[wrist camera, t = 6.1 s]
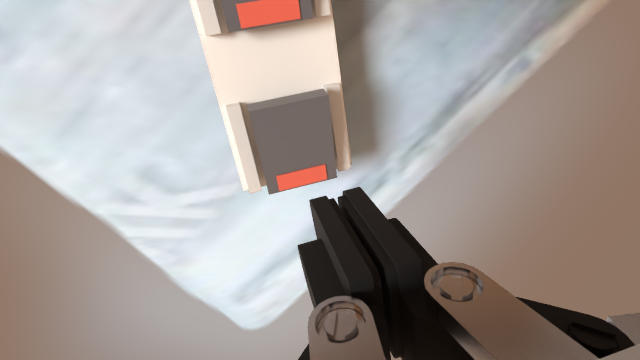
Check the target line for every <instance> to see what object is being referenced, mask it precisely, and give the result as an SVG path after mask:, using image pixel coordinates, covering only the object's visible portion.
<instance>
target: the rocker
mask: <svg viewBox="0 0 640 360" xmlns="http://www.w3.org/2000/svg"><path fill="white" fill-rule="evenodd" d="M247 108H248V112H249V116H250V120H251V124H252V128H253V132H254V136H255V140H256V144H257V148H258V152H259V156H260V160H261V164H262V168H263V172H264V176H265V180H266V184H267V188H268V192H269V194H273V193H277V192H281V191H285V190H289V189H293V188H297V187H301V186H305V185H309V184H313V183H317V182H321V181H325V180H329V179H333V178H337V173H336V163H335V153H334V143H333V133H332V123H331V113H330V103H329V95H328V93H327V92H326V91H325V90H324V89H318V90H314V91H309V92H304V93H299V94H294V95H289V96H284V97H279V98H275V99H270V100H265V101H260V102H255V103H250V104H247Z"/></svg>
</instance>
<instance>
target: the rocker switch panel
mask: <svg viewBox="0 0 640 360" xmlns="http://www.w3.org/2000/svg"><path fill="white" fill-rule="evenodd" d="M189 1H190V4H191V8H192V11H193V15H194V18H195V22H196V25H197V29H198V32H199V36H200V39H201V43H202V46H203V50H204V53H205V57H206V60H207V64H208V67H209V71H210V74H211V78H212V82H213V85H214V89H215V92H216V96H217V99H218V103H219V106H220V110H221V113H222V117H223V120H224V124H225V127H226V131H227V134H228V138H229V141H230V145H231V148H232V152H233V155H234V159H235V162H236V166H237V169H238V173H239V176H240V180H241V183H242V187H243V190H244V191H245V190H249V193H254V192H258V191H262V189H261V187H262V186H266V185H267V184H266V180H265V176H264V172H263V168H262V164H261V160H260V156H259V152H258V148H257V144H256V140H255V136H254V132H253V128H252V124H251V120H250V116H249V112H248V108H247V104H250V103H255V102H260V101H265V100H270V99H275V98H279V97H284V96H289V95H294V94H299V93H304V92H309V91H314V90H318V89H324V90H325V91H326V92H327V93H328V95H329V103H330V113H331V123H332V133H333V143H334V153H335V163H336V168H337V169H338V170H339V171H343V170H347V169H350V165H351V164H352V163H351V155H350V147H349V139H348V131H347V123H346V115H345V108H344V100H343V92H342V84H341V76H340V68H339V60H338V52H337V44H336V36H335V28H334V20H333V12H332V4H331V0H311V6H312V15H313V19H308V20H302V21H296V22H290V23H284V24H278V25H272V26H266V27H260V28H255V29H249V30H243V31H237V32H231V33H229V32H228V28H227V24H226V20H225V16H224V12H223V8H222V4H221V0H189Z"/></svg>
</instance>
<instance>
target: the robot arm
mask: <svg viewBox="0 0 640 360" xmlns="http://www.w3.org/2000/svg"><path fill="white" fill-rule="evenodd" d="M338 204H339V206H338ZM338 204H337V203H336V201H335V199H334V198H332V199H328V198H327V196H323V197H319V198H315V199H311V200H310V207H311V212H312V217H313V222H314V227H315V231H316V236H317V240H314V241H311V242H307V243H304V244H300V245H298V250H299V255H300V259H301V263H302V267H303V271H304V275H305V279H306V282H307V286H308V290H309V293H310V296H311V300H312V303H313V306H314V310H313V311H312V313H311V315H310V317H309V322H308V336H309V344H308V346H307V347H306V349H305V350H304V351H303V353H302V355H301V356H300V357H299V359H298V360H391V356H390V351H391V353H392V355H393V357H394V358H398V357H401V359H402V360H640V313H634V314H625V315H617V316H616V315H615V316H608V318H607V321H604V320H602V319H599V318H597V317H594V316H591V315H588V314H584V313H579V312H576V311H572V310H568V309H563V308H559V307H555V306H551V305H547V304H543V303H539V302H535V301H531V300H527V299H523V298H519V297H515V296H514V295H512V294H511V293H510V292H508V291H507V290H505V289H504V288H503V287H501V286H500V285H499V284H497V283H496V282H494V281H493V280H492V279H491V278H489V277H488V276H486V275H485V274H484V273H482V272H481V271H479V270H478V269H476V268H474V267H472V266H469V265H466V264H463V263H455V262H448V263H442V264H437V263H436V261H435V260H434V259H433V258H432V257H431V256H430V255H429V254H428V253H427V251H426V250H425V249H424V248H423V247H422V246H421V245H420V244H419V243H418V241H417V240H416V239H415V238H414V237H413V236H412V235H411V234H410V233H409V231H408V230H407V229H406V228H405V227H404V226H403V225H402V224H401V223H400V221H399V220H397V219H396V218H392V219H388V220H387V218H386V217H385V216H384V215H383V214H382V212H381V211H380V210H379V209H378V208H377V207H376V205H375V204H374V203H373V202H372V201H371V199H370V198H369V197H368V196H367V195H366V193H365V192H364V191H363V190H362V189H361V188H360V187H357V188H353V189H349V190H345V191H343V196H340V197H338Z"/></svg>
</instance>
